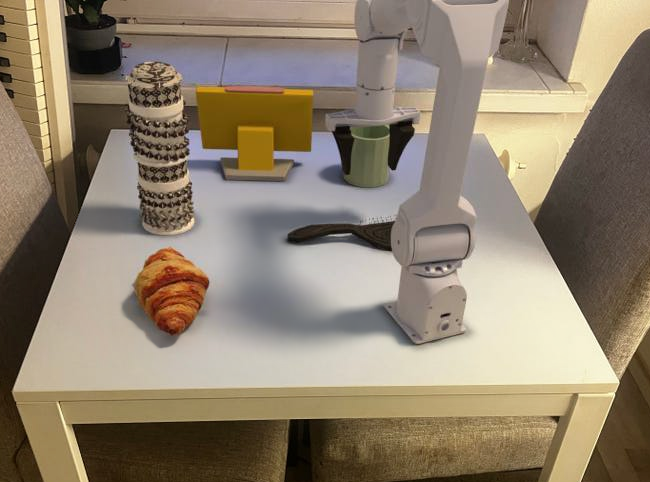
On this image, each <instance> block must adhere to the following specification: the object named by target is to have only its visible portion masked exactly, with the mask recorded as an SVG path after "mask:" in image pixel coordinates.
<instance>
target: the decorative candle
mask: <svg viewBox="0 0 650 482" xmlns="http://www.w3.org/2000/svg"><path fill="white" fill-rule="evenodd" d="M124 79H125V81H126V82H127V90H128V103H126V104H125V105H124V107H125V109H124V113H125V114H126V117H127V118H126V120H125V122H126V123H127V124H128V126H129V128H128V129H129V132H128V136H129V137H130V143H129V144H130V146H131V147H132V150H133V159H134V160H135V161H136V162H137V170H138V171H137V178H138V179H137V180H138V181H137V186H136V189H137V190H138V197H137V198H138V199H139V200H140V201H139V211H140V218H141V220H142V222H141V223H142V224H141V225H142V227H143V228H144V230H145V231H147V232H148V233H150V234H153V235H158V236H176V235H181V234H183V233H186V232H187V231H189V230H191V229H192V228H193V227H194V225H195V215H194V213H195V210H194V206H193V205H194V203H195V202H194V201H193V200H192V198H193V193H194V191H193V190H192V185H193V182H192V181H191V180H190V171H189V169H188V160H187V159H188V158H189V157H190V154H191V152H190V151H191V149H190V148H189V147H188V146H190V139H189V138H188V137H187V136H186V135H187V134H188V133H189V132H190V126H189V125H187V123H189V122H190V121H189V116H188V114H186V113H185V112H183V110H184V106H186V105H187V104H186V103H187V102H186V100H184V96H183V95H182V85H181V82H182V81H183V75H182V74H181V73H180V72H178V71H177V70H176V69H175V68H174V67H173V66H172V65H171V64H169V63H167V62H163V61H146V62H141V63H138V64H137V65H135V66H134V67H132V70H131V71H130V73H129V74H127V75H125V78H124Z"/></svg>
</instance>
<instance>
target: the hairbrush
mask: <svg viewBox="0 0 650 482" xmlns="http://www.w3.org/2000/svg"><path fill="white" fill-rule="evenodd" d="M391 217H392V215H389V218H390V221H388V218H385V221H384V219H383V216H380V217H379V218H378V217H377V218H376V220H374V219H375V218H374V217H372V218H368V220H369V223H366V224H362V222H364V220H362V219H361V220H360V221H359V224H354V223H349V222H348V223H345V222H344V223H343V222H342V223H340V222H339V223H313V224H308V225H304V226H301V227H297V228H296V229H294V230H292V231H290V232H289V233H287V241H288V243H303V242H308V241H312V240H315V239H319V238H324V237H328V236H330V235H333V236H334V235H350V234H351V235H353V236H355V238H358V239H359V240H361V241H363V242H365V243H367V244H369V245H371V246H373V247H375V248H377V249H381V250H386V251H389V252H392V247H391V230H392V226H393V224H394V223H395V221H396V220H393V218H391ZM396 218H397V214H395V219H396ZM371 219H372V220H373V223H371V221H370V220H371ZM378 219H381V222H379V221H380V220H378ZM365 222H367V219H365Z"/></svg>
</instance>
